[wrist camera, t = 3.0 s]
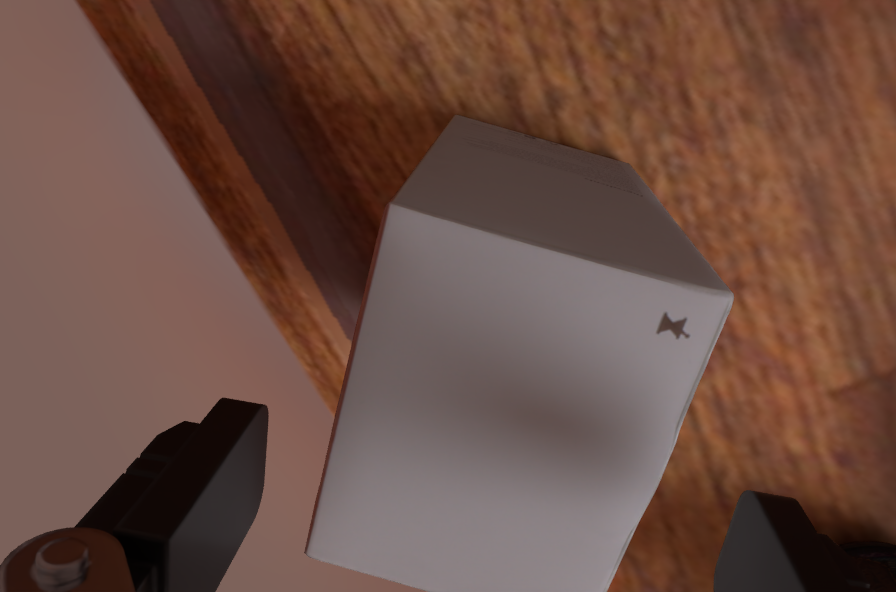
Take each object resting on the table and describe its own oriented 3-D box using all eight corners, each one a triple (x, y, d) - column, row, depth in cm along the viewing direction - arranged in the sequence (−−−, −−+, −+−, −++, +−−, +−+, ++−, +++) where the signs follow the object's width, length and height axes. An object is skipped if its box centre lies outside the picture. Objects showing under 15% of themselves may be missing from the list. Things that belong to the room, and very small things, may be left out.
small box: (452, 110, 24) (384, 190, 12) (634, 161, 24) (751, 292, 12) (397, 324, 27) (296, 564, 15) (560, 370, 27) (593, 646, 15)
